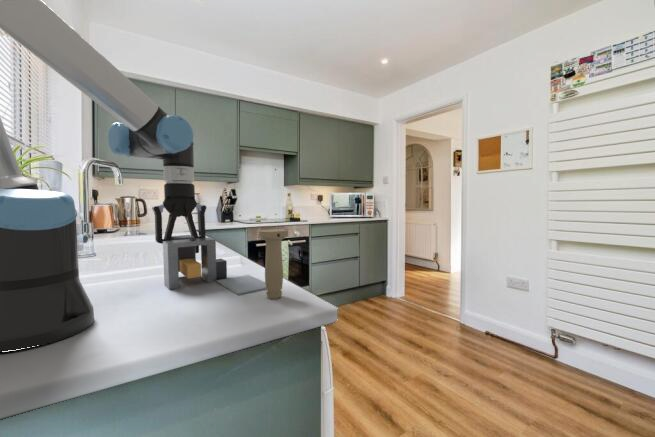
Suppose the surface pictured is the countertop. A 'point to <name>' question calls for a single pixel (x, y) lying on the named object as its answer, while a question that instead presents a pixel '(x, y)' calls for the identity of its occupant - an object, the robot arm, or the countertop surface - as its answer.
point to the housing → (210, 265)
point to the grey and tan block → (187, 259)
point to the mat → (243, 284)
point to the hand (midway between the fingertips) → (182, 266)
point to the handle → (273, 261)
